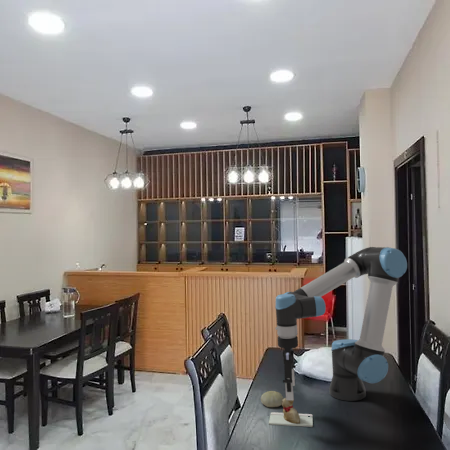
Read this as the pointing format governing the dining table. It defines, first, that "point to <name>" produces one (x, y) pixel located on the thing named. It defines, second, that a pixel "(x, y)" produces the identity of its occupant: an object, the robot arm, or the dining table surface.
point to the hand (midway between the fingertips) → (290, 392)
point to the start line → (283, 414)
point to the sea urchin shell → (272, 399)
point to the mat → (280, 420)
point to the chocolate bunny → (290, 411)
